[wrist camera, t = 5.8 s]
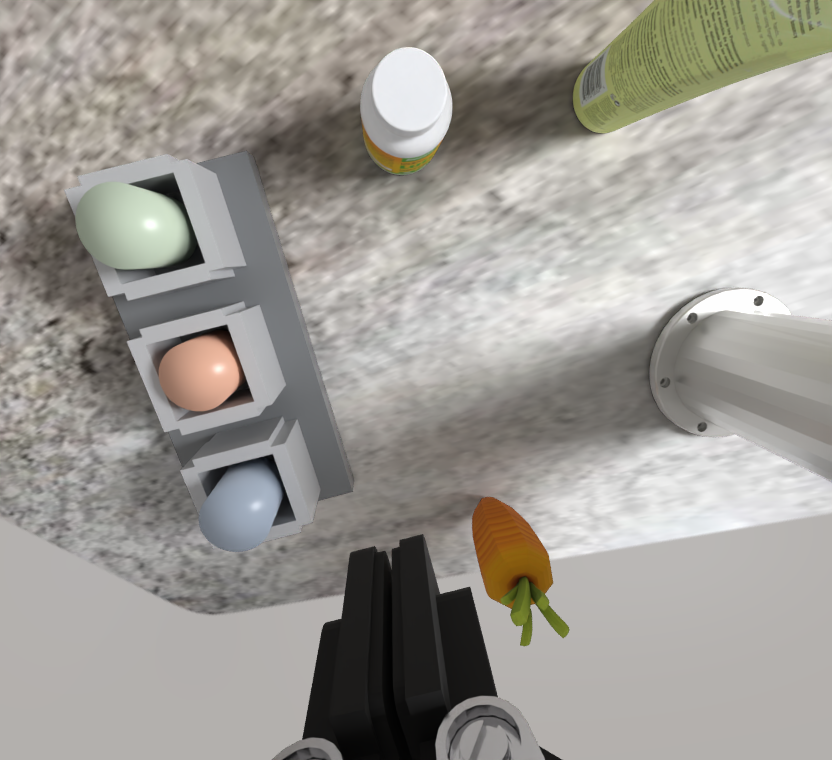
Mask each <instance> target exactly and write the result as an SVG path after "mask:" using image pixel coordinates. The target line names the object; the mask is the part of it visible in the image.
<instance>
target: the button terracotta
mask: <svg viewBox="0 0 832 760" xmlns="http://www.w3.org/2000/svg"><path fill="white" fill-rule="evenodd" d="M246 380H247V379H246V376H245V373H244V371H243V368H242V365H241V362H240V359H239V356H238V354H237V351H236V348H235V345H234V342H233V340H232V337H231V334H230V332H229V331H224V330H213V331H209V332H206V333H204V334H202V335H200V336H197V337H195V338H193V339H190V340H188V341H186V342H184V343H181V344H179V345H177V346H175V347H173V348H172V349H170V350H169V351H168V352H167V353H166V354H165V355H164V357H163V359H162V361H161V363H160V366H159V381H160V384H161V387H162V389H163V391H164V393H165V394H166V395H167V397H168V398H169V399H170V400H171V401H172V402H174V403H175V404H176V405H178V406H180V407H182V408H184V409H187V410H191V411H207V410H211V409H213V408H215V407H217V406H219V405H220V404H222V403H223V402H224V401H225V400H226V399H227V398H228V397H229V396H230V395H231V394H232V393H233V392H235V391H236V390H237V389H238V388H239V387H240V386H241V385H242V384H243V383H244V382H245V381H246Z"/></svg>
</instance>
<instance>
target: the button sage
mask: <svg viewBox="0 0 832 760" xmlns="http://www.w3.org/2000/svg"><path fill="white" fill-rule="evenodd" d="M75 221H76V228H77V232H78V235H79V238H80V240H81V242H82V244H83V245H84V247H85V248H86V249H87V251H88V252H89V253H90V254H91V255H92V256H93V257H95V258H96V259H97V260H98V261H100V262H102V263H103V264H105V265H108V266H110V267H113V268H117V269H125V270H126V269H147V268H167V267H175V266H178V265H180V264H182V263H184V262H185V261H187V260H188V259H189V258H190V257H191V255H192V254H193V252H194V251H195V248H196V246H197V242H198V240H197V238H196V235H195V232H194V229H193V226H192V223H191V221H190V218H189V215H188V212H187V209H186V207H185V206H184V205H183V204H182V203H181V202H179V201H178V200H176V199H174V198H172V197H170V196H167V195H163V194H160V193H156V192H153V191H150V190H146V189H143V188H139V187H136V186H132V185H129V184H125V183H121V182H105V183H101V184H98V185H96V186H94V187H92V188H91V189H89V190H88V191H87V192H86V193H85V194H84V195H83V197H82V198H81V200H80V202H79V203H78V206H77V210H76V218H75Z"/></svg>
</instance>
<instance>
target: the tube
mask: <svg viewBox="0 0 832 760" xmlns="http://www.w3.org/2000/svg"><path fill="white" fill-rule="evenodd" d="M828 52H832V0H654V1H653V2H652V3H651V4H650V5H649V6H648V7H647V8H646V9H645V10H644V11H643V12H642V13H641V14H640V15H639V16H638V17H637V18H636V19H635V20H634V21H633V22H632V23H631V24H630V25H629V26H628V27H627V28H626V29H625V30H624V31H622V32H621V33H620V34H619V35H618V36H617V37H616V38H615V39H614V40H613V41H612V42H611V43H610V44H609V45H608V46H607V47H606V48H605V49H604V50H603V51H602V52H601V53H599V54H598V55H597V56H596V57H595V58H594V59H593V60H592V61H591V62H590V63H589V64H588V65H587V66H586V67H585V68H584V69H583V70H582V72H581V73H580V75H579V76H578V78H577V80H576V83H575V86H574V91H573V105H574V110H575V113H576V115H577V117H578V119H579V121H580V122H581V123H582V124H583V125H584V126H585V127H586V128H588V129H589V130H591V131H593V132H597V133H609V132H612V131H615V130H617V129H620V128H622V127H624V126H627V125H629V124H631V123H634V122H636V121H638V120H641V119H643V118H646V117H648V116H650V115H653V114H655V113H658V112H660V111H663V110H665V109H668V108H670V107H673V106H675V105H678V104H680V103H683V102H685V101H688V100H690V99H693V98H696V97H698V96H701V95H703V94H706V93H709V92H711V91H714V90H717V89H720V88H722V87H725V86H728V85H730V84H733V83H736V82H739V81H741V80H744V79H747V78H750V77H753V76H756V75H759V74H762V73H765V72H768V71H771V70H774V69H777V68H780V67H783V66H787V65H790V64H793V63H796V62H799V61H802V60H806V59H809V58H812V57H815V56H818V55H822V54H825V53H828Z"/></svg>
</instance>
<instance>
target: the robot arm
mask: <svg viewBox="0 0 832 760" xmlns="http://www.w3.org/2000/svg"><path fill="white" fill-rule="evenodd" d="M687 316H688V318H687ZM649 373H650V386H651V390H652V393H653V397H654V399H655V401H656V403H657V405H658V407H659V409H660V410H661V411H662V413H663V414H664V415H665V416H666V417H667V418H668V419H669V420H670V421H672V422H673V423H674V424H676V425H677V426H679V427H680V428H682V429H684V430H686V431H688V432H690V433H693V434H696V435H699V436H706V437H724V436H730V435H734V434H735V435H737V436H739V437H741V438H744V439H746V440H748V441H750V442H752V443H754V444H756V445H758V446H760V447H762V448H764V449H766V450H768V451H770V452H772V453H774V454H776V455H778V456H780V457H782V458H784V459H786V460H788V461H790V462H792V463H794V464H796V465H798V466H800V467H802V468H804V469H806V470H808V471H810V472H812V473H814V474H816V475H818V476H820V477H822V478H824V479H826V480H828V481H830V482H832V320H826V319H819V318H811V317H804V316H797V315H792V314H791V312H790V311H789V310H788V308H787V307H786V306H785V305H784V304H783V303H782V302H780V301H779V300H778V299H777V298H775V297H773V296H771V295H769V294H768V293H766V292H762V291H759V290H755V289H749V288H738V287H737V288H723V289H719V290H715V291H711V292H708V293H706V294H704V295H702V296H700V297H697V298H695V299H694V300H692V301H691V302H689V303H688V304H687V305H685V306H684V307H682V308H681V309H680V310H679V311H678V312H677V313H676V314H675V315H674V316H673V317H672V318H671V319H670V321H669V322H668V324H667V325H666V326H665V328H664V329H663V330H662V332H661V334H660V336H659V338H658V340H657V342H656V344H655V347H654V350H653V354H652V357H651V363H650V371H649ZM399 544H400V547H398V548H394V549H392V569H391V566H390V563H389V559H388V556H387V553H386V551H382V552H377V549H376V547H375V546H374V547H370V548H366V549H362V550H358V551H354V552H351V553H350V558H349V565H348V573H347V581H346V588H345V596H344V604H343V611H342V619H338V620H335V621H330V622H327V623H325V624H324V625H323V629H322V632H321V638H320V644H319V649H318V655H317V660H316V666H315V671H314V677H313V683H312V688H311V694H310V700H309V705H308V710H307V716H306V721H305V727H304V733H303V738H302V740H300V741H297V742H296V743H294V744H292V745H290V746H289V747H287V748H285V749H283V750H282V751H281V752H280V753H279V754H278V755H276V756H275V757H274V758H273V759H272V760H561V759H560V758H558V757H556V756H555V755H553V754H551V753H550V752H548V751H546V750H545V749H543V748H541V747H540V746H538V744H537V741H536V739H535V737H534V735H533V733H532V731H531V729H530V727H529V724H528V722H527V721H526V719H525V718H524V716H523V715H522V713H521V712H520V710H519V709H517V708H516V707H515V706H514V705H512V704H511V703H509V702H508V701H506V700H503V699H501V698H498V696H497V692H496V688H495V684H494V680H493V675H492V671H491V667H490V663H489V659H488V655H487V651H486V647H485V643H484V639H483V635H482V631H481V628H480V624H479V620H478V616H477V612H476V608H475V604H474V600H473V596H472V592H471V588H470V587H467V588H463V589H459V590H455V591H451V592H447V593H443V594H440V592H439V588H438V585H437V581H436V577H435V574H434V570H433V567H432V563H431V559H430V556H429V552H428V548H427V545H426V541H425V538H424V535H423V534H422V535H418V536H414V537H410V538H406V539H402V540H400V543H399Z"/></svg>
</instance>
